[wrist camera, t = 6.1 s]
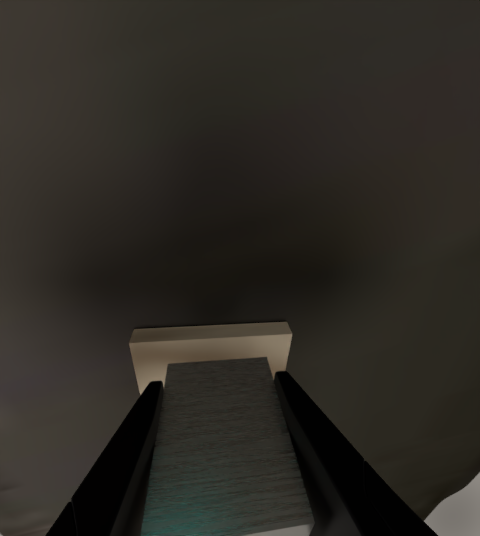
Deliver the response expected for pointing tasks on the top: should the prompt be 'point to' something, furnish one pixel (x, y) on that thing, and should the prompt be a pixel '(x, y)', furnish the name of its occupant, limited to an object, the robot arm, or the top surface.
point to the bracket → (206, 346)
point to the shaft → (224, 456)
